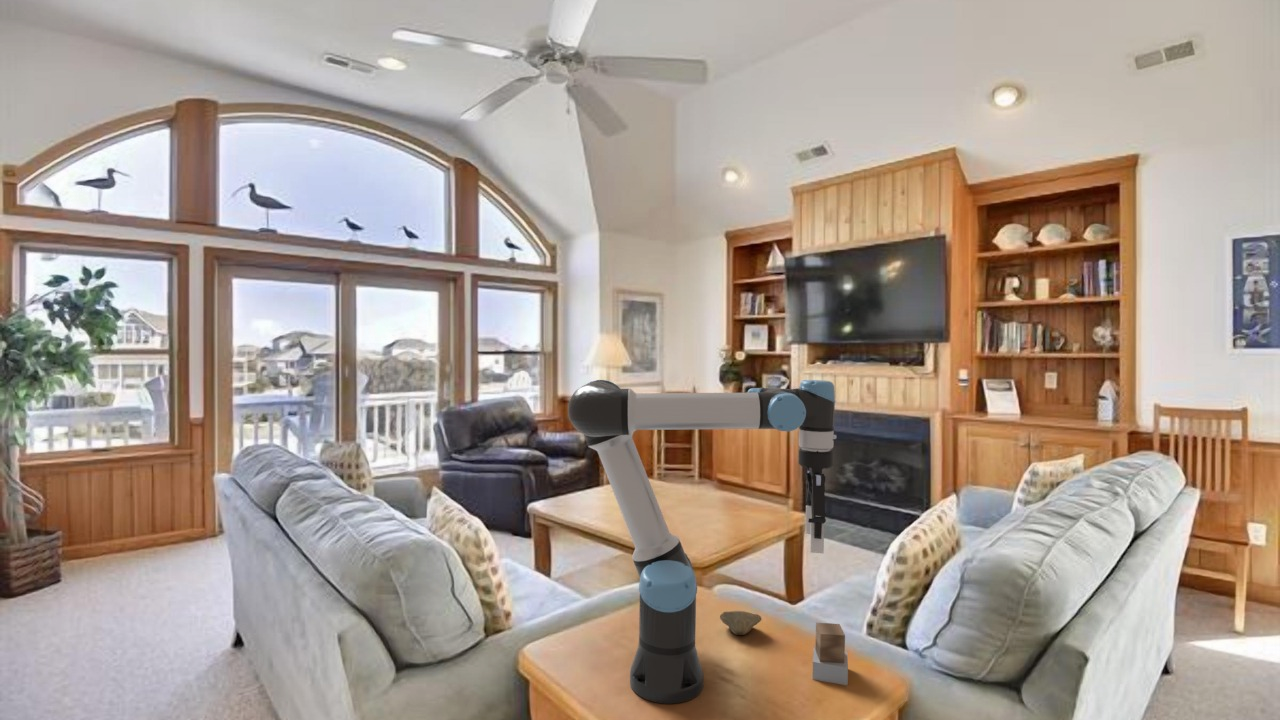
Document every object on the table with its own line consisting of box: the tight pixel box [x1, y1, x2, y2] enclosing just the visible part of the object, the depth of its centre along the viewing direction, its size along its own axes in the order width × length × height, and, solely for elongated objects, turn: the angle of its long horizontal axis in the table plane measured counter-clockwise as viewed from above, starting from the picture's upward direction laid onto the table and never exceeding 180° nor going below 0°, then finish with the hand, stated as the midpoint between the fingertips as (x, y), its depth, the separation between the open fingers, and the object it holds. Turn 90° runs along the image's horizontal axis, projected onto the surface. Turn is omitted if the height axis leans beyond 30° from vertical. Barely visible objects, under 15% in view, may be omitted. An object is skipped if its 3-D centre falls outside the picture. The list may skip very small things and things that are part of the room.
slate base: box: [812, 645, 849, 686], centre depth 128 cm, size 7×7×4 cm
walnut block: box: [815, 622, 846, 663], centre depth 128 cm, size 5×5×6 cm
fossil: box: [719, 610, 762, 636], centre depth 145 cm, size 9×4×10 cm
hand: (813, 542), depth 135 cm, fingers open, 13 cm apart
